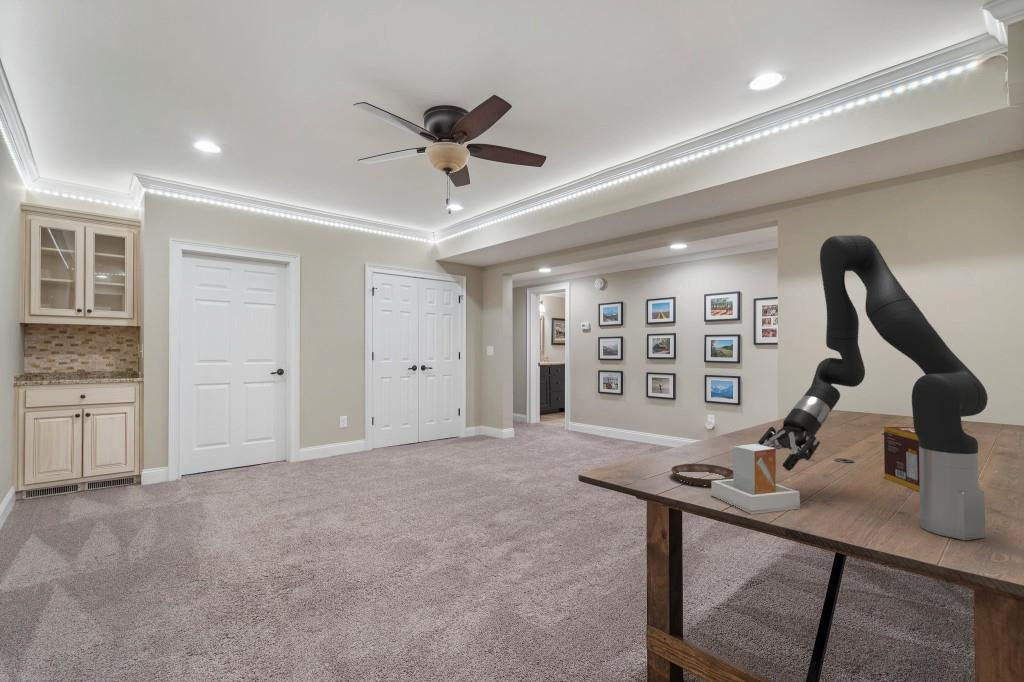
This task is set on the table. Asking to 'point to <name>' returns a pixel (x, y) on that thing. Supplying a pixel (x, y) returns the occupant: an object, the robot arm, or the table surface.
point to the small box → (754, 469)
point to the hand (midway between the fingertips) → (771, 464)
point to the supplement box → (902, 456)
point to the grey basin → (756, 498)
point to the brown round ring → (701, 468)
